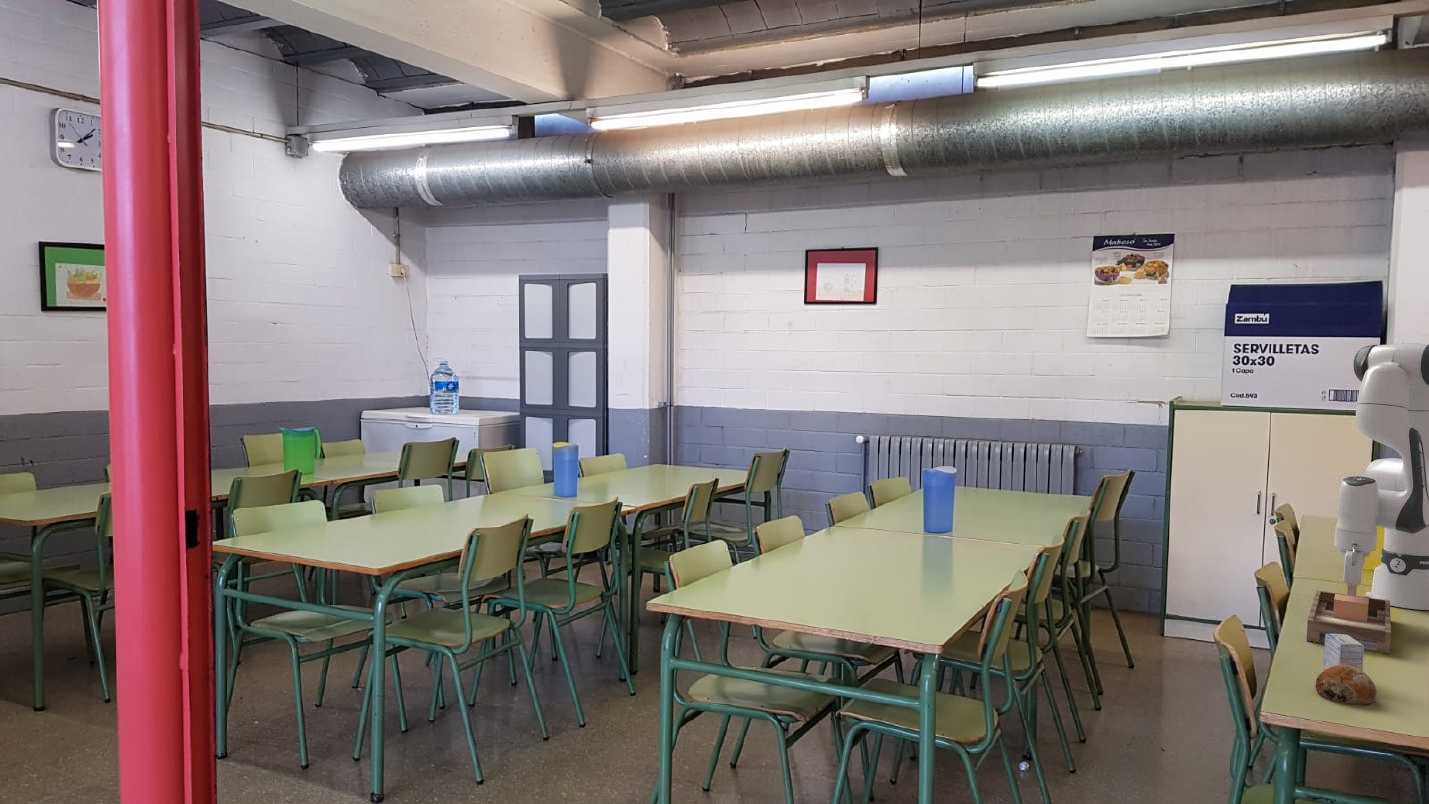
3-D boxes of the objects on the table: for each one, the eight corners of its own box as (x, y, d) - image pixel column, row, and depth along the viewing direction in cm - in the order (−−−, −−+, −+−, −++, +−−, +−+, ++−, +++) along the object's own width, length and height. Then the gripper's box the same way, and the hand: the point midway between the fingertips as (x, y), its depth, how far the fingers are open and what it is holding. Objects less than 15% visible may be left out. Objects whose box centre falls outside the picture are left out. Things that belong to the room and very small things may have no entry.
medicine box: (1362, 688, 199) (1365, 645, 198) (1338, 685, 199) (1340, 643, 199) (1345, 675, 206) (1348, 634, 206) (1322, 673, 207) (1324, 632, 207)
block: (1334, 611, 249) (1335, 593, 248) (1367, 616, 245) (1368, 598, 245) (1333, 617, 243) (1334, 599, 243) (1367, 622, 239) (1368, 604, 239)
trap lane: (1315, 609, 260) (1316, 590, 260) (1388, 620, 252) (1389, 600, 251) (1306, 641, 231) (1307, 619, 230) (1389, 654, 222) (1390, 632, 221)
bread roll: (1379, 724, 189) (1397, 686, 189) (1337, 703, 187) (1356, 665, 187) (1338, 705, 199) (1355, 669, 199) (1298, 685, 197) (1316, 649, 197)
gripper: (1369, 549, 239) (1366, 606, 240) (1370, 537, 256) (1367, 590, 257) (1338, 546, 243) (1335, 601, 243) (1341, 534, 260) (1338, 586, 260)
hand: (1351, 595), depth 250 cm, fingers closed
